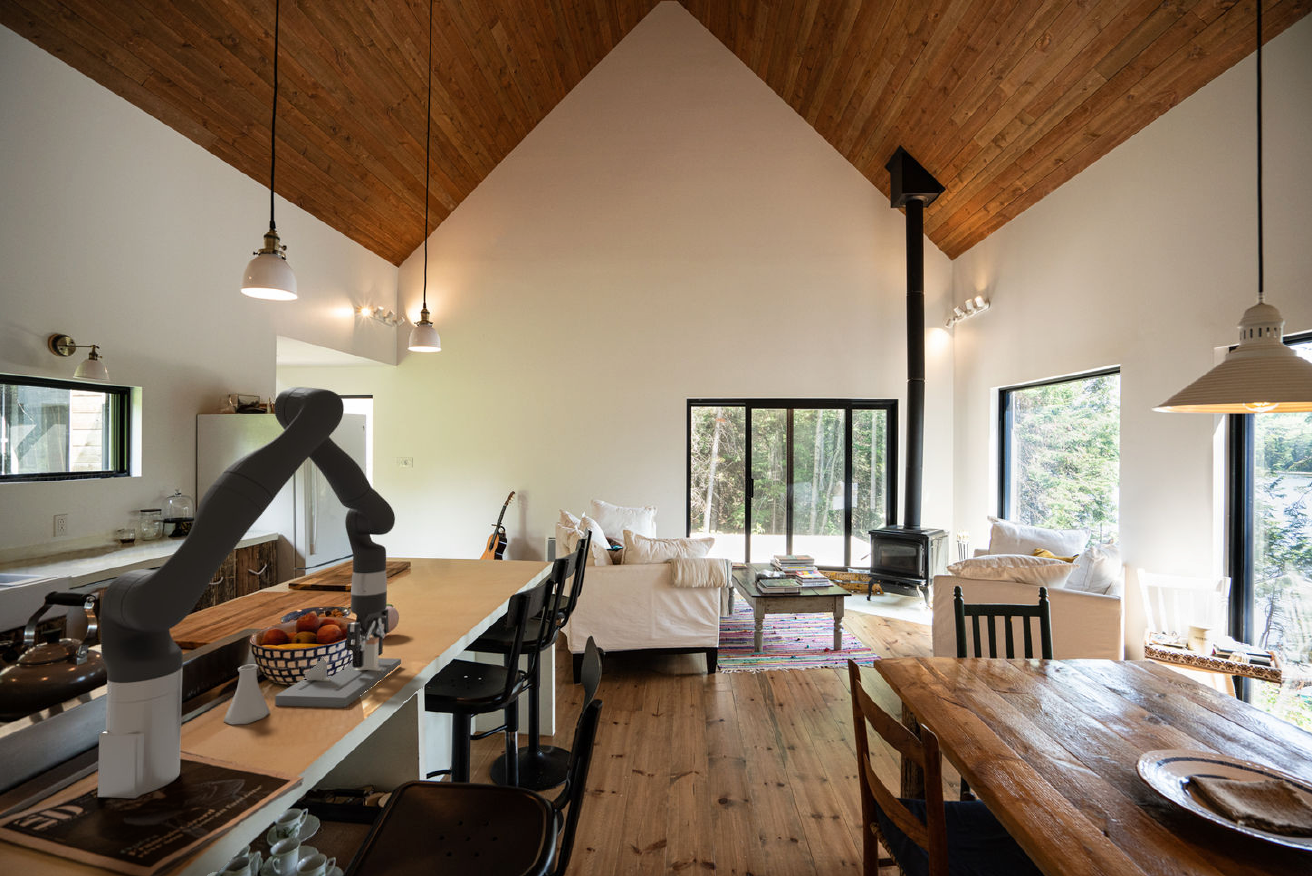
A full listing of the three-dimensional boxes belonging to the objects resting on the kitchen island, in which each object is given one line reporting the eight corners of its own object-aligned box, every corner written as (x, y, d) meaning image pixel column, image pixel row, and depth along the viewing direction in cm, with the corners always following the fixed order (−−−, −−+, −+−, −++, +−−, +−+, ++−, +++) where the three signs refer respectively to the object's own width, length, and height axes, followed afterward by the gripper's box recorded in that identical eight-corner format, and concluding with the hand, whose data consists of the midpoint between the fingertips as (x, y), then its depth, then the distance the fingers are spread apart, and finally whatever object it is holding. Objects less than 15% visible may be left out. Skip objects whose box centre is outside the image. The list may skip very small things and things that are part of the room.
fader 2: (374, 669, 141) (374, 640, 142) (356, 669, 142) (357, 639, 142) (378, 667, 143) (378, 637, 143) (361, 666, 143) (361, 637, 144)
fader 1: (322, 680, 135) (322, 648, 135) (304, 679, 135) (305, 648, 135) (327, 676, 137) (328, 646, 137) (309, 676, 137) (310, 645, 137)
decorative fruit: (387, 643, 169) (388, 606, 169) (359, 642, 170) (360, 605, 170) (405, 633, 178) (405, 598, 179) (378, 632, 179) (379, 597, 179)
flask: (247, 727, 117) (248, 674, 117) (215, 724, 118) (216, 671, 119) (277, 712, 124) (278, 662, 124) (247, 709, 125) (248, 659, 126)
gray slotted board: (345, 707, 126) (345, 697, 126) (275, 705, 127) (275, 695, 127) (400, 667, 150) (401, 658, 150) (341, 665, 151) (341, 656, 151)
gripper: (368, 597, 136) (367, 672, 135) (399, 584, 150) (398, 651, 149) (335, 597, 136) (334, 671, 136) (369, 583, 150) (368, 650, 150)
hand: (367, 660), depth 142 cm, fingers open, 8 cm apart
